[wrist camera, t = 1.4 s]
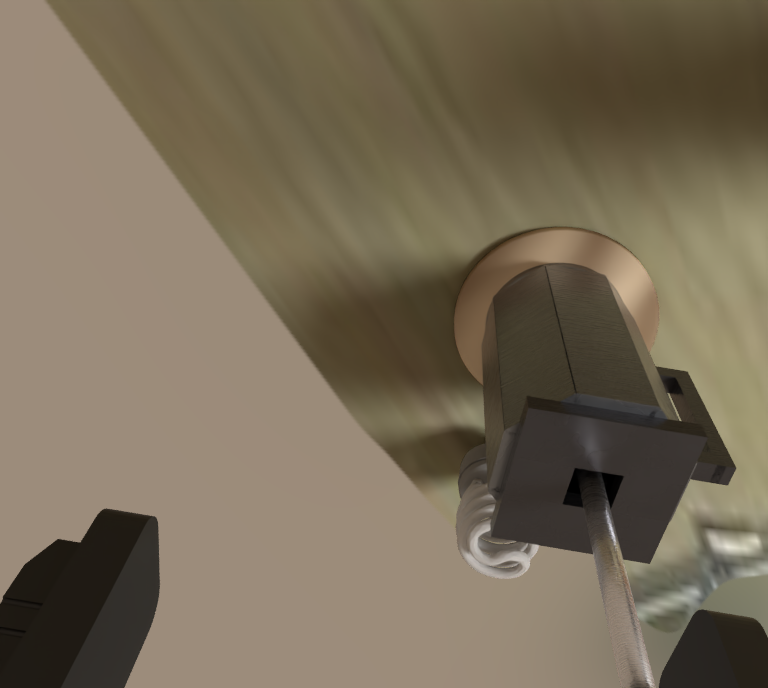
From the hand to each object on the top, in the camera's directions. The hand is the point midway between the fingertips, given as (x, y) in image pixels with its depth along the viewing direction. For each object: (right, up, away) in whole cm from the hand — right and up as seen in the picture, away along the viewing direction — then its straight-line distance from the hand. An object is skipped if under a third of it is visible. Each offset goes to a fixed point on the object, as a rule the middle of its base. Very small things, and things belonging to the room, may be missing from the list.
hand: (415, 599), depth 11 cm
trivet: (+12, +5, +40) cm, 42 cm away
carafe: (+13, +5, +39) cm, 42 cm away
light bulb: (+8, -4, +46) cm, 47 cm away
